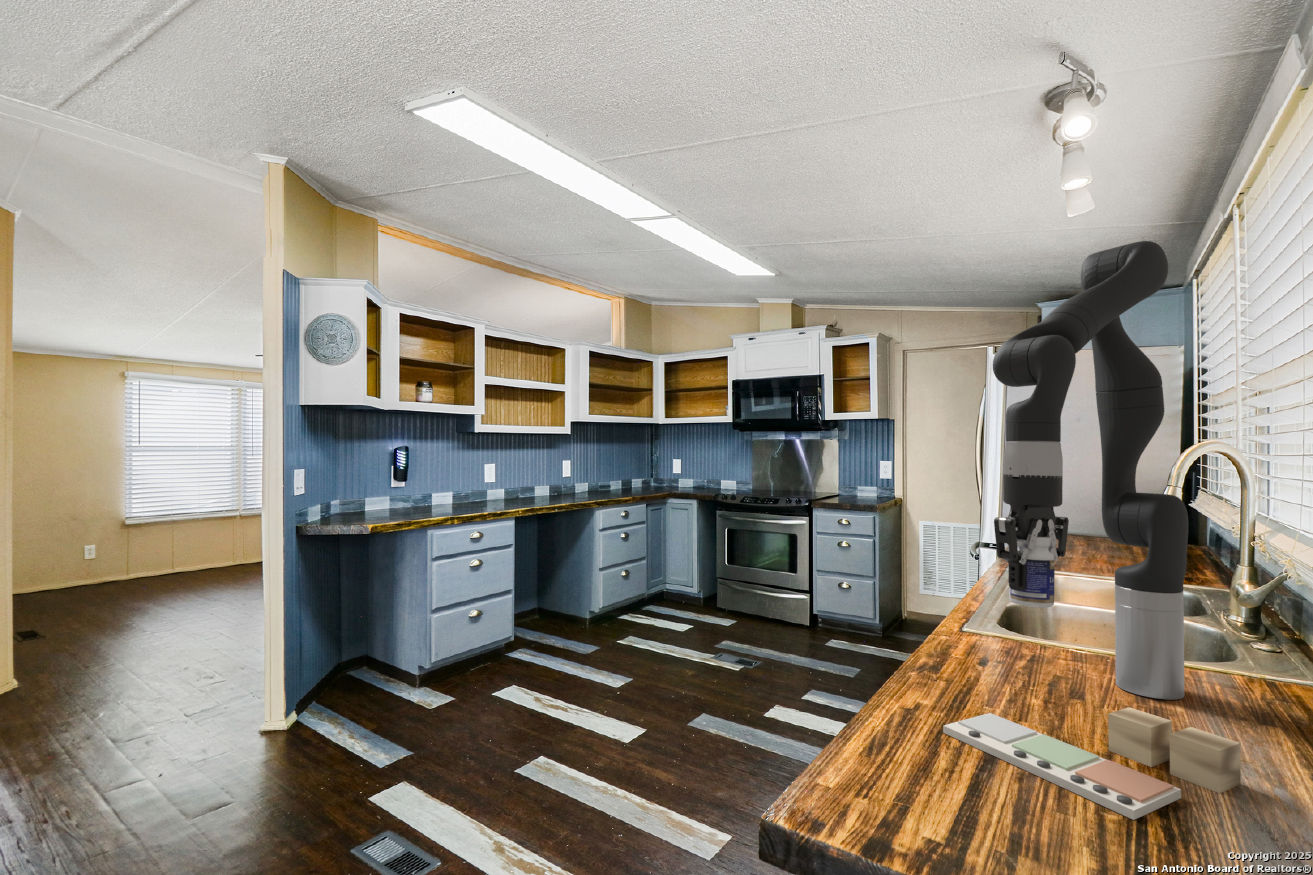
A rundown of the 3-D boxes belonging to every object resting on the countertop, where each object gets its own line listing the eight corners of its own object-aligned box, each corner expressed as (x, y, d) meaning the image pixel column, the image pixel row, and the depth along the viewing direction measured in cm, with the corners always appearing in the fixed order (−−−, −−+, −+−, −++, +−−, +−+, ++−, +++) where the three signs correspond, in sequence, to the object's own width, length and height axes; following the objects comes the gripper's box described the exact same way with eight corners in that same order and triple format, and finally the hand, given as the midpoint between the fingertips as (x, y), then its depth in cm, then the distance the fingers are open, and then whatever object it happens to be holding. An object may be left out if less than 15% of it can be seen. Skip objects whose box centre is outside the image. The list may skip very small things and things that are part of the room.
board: (989, 719, 95) (989, 710, 95) (1181, 797, 73) (1180, 786, 73) (943, 732, 90) (943, 723, 90) (1133, 819, 69) (1133, 807, 69)
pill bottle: (1061, 609, 90) (1061, 539, 90) (1016, 606, 91) (1016, 536, 91) (1045, 601, 95) (1045, 534, 96) (1003, 598, 97) (1004, 532, 97)
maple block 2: (1191, 766, 81) (1190, 726, 81) (1240, 784, 77) (1240, 742, 77) (1169, 774, 79) (1169, 733, 79) (1219, 794, 75) (1219, 750, 75)
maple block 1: (1129, 743, 88) (1129, 707, 88) (1172, 759, 83) (1171, 720, 83) (1108, 751, 85) (1108, 713, 85) (1151, 767, 81) (1150, 727, 81)
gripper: (1038, 472, 100) (1037, 580, 100) (976, 471, 94) (975, 586, 93) (1088, 474, 94) (1087, 589, 93) (1025, 473, 87) (1024, 596, 87)
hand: (1031, 587), depth 93 cm, fingers closed on pill bottle, 5 cm apart
